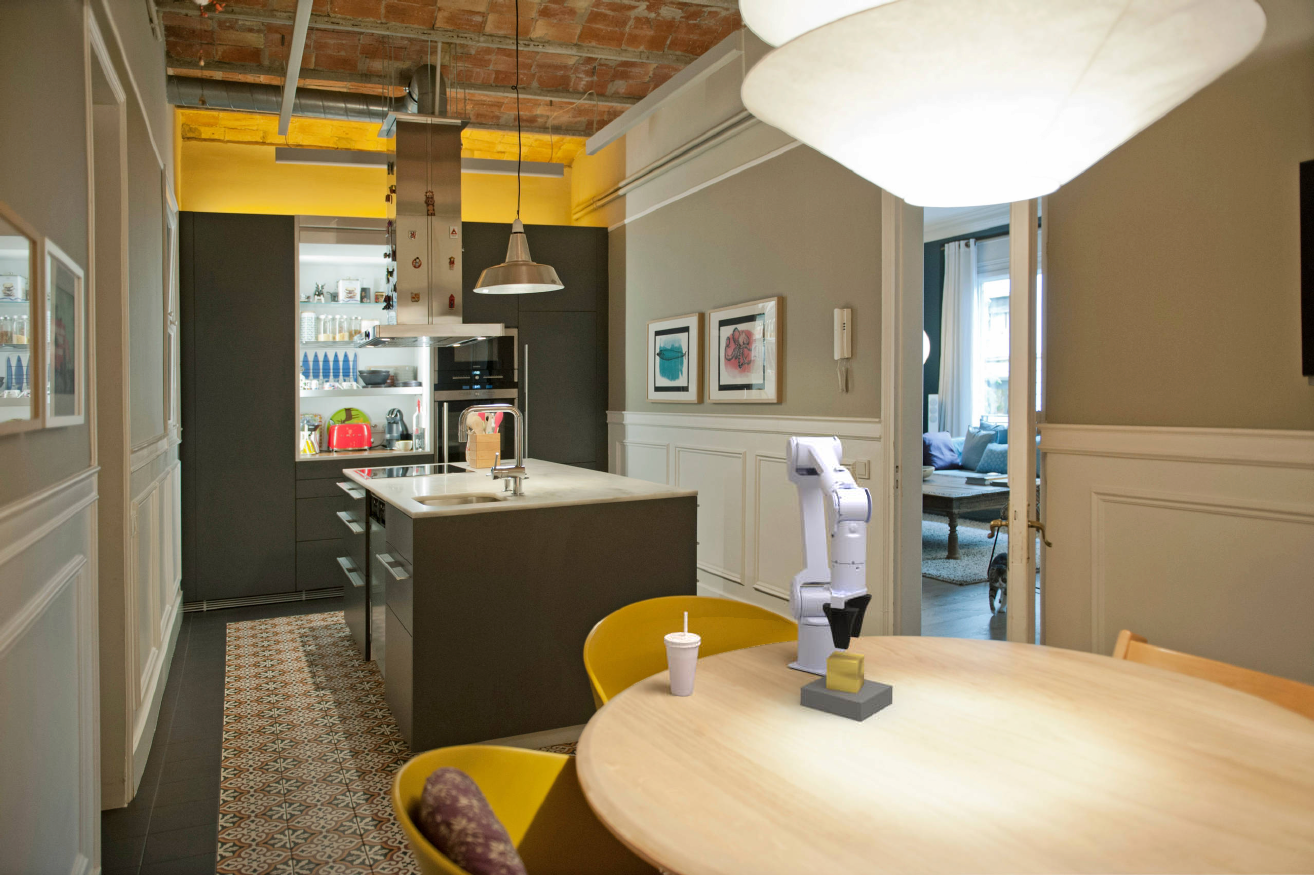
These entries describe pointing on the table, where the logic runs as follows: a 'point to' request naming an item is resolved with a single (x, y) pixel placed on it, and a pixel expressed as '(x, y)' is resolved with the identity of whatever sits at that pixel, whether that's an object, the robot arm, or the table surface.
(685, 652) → the smoothie
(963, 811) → the table surface
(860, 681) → the mustard cube
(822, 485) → the robot arm
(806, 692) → the base block
